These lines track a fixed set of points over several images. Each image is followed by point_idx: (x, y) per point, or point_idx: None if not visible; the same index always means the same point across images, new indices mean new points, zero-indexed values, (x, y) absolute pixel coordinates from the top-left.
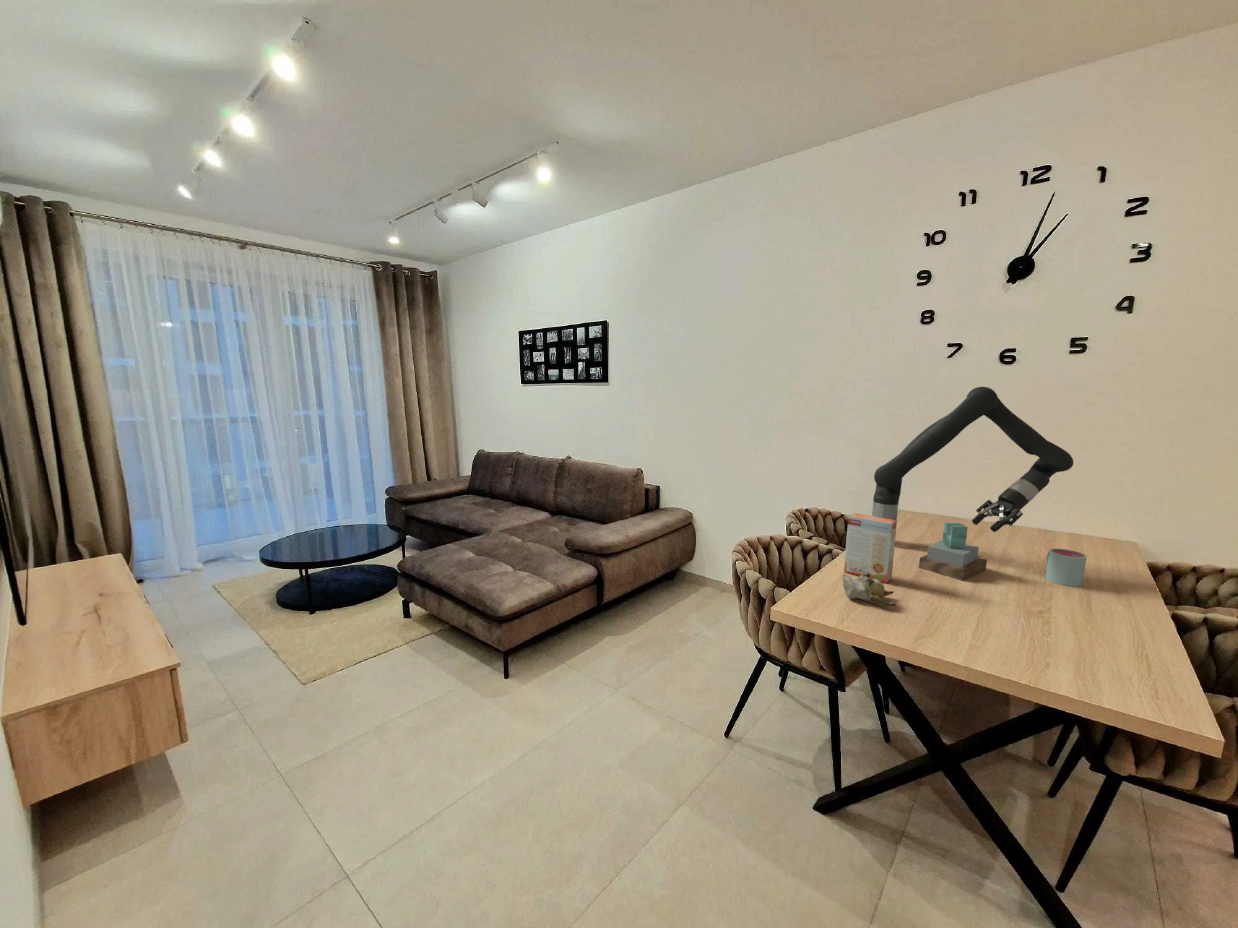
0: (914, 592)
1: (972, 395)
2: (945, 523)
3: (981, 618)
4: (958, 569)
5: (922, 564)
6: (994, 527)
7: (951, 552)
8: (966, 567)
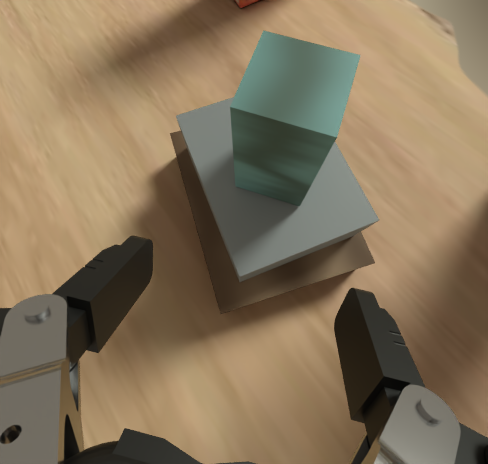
0: (163, 2)
1: None
2: (345, 54)
3: (17, 22)
4: None
5: None
6: (113, 249)
7: (218, 103)
8: (182, 161)
